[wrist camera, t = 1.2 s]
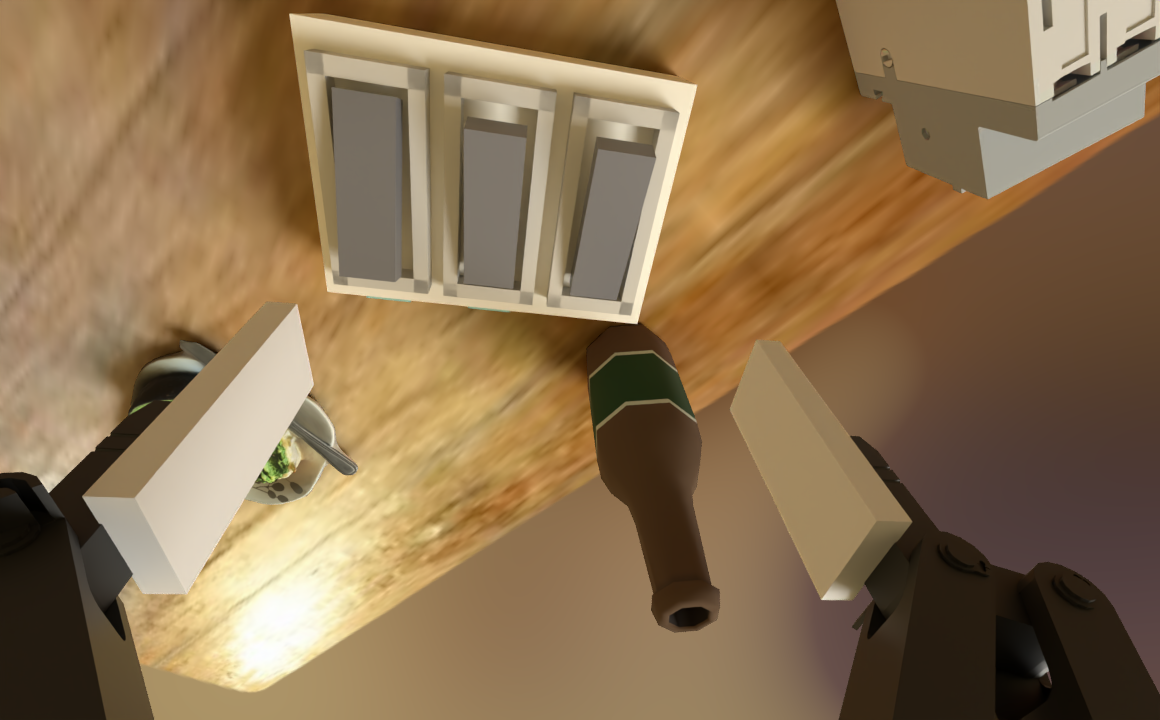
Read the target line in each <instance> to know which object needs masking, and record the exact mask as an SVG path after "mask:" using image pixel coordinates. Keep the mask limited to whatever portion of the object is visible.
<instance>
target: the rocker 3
mask: <svg viewBox="0 0 1160 720" xmlns="http://www.w3.org/2000/svg"><path fill="white" fill-rule="evenodd" d="M655 161H656V155H655V151H654V148H653V145H649V144H642V143H636V142H629V141H623V140H616V139H610V138H604V137H596V142H595V148H594V153H593V158H592V164H591V169H590V174H589V180H588V185H587V190H586V196H585V201H584V206H583V212H582V217H581V222H580V228H579V233H578V238H577V244H576V249H575V254H574V260H573V265H572V270H571V276H570V295H573V296H582V297H591V298H600V299H609V300H617V297H618V293H619V290H620V286H621V283H622V279H623V275H624V272H625V268H626V265H627V261H628V258H629V254H630V250H631V247H632V243H633V240H634V236H635V233H636V229H637V226H638V222H639V218H640V215H641V211H642V208H643V204H644V201H645V197H646V193H647V190H648V186H649V183H650V179H651V176H652V172H653V169H654V165H655Z"/></svg>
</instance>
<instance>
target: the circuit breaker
mask: <svg viewBox="0 0 1160 720" xmlns="http://www.w3.org/2000/svg"><path fill="white" fill-rule="evenodd" d="M836 4H837V7H838V11H839V15H840V19H841V22H842V26H843V30H844V34H845V38H846V41H847V45H848V49H849V53H850V56H851V60H852V64H853V68H854V72H855V75H856V79H857V83H858V87H859V90H860V94H861V95H862V96H865V97H868V98H872V99H878V98H880V97H881V96H882V101H884V102H887V103H891V104H892V106H893V110H894V114H895V119H896V123H897V127H898V131H899V136H900V140H901V144H902V148H903V152H904V157H905V161H906V165H907V166H909V167H911V168H914V169H916V170H918V171H921V172H923V173H925V174H928V175H930V176H933V177H935V178H937V179H940V180H942V181H944V182H947V183H949V184H951V185H952V186H953V190H955V191H958V192H960V193H963V192H965V191H968V192H970V193H973V194H975V195H978V196H980V197H983V198H986V199H989V198H991V197H993V196H995V195H997V194H999V193H1001V192H1003V191H1004V190H1006V189H1008V188H1010V187H1012V186H1014V185H1016V184H1018V183H1020V182H1022V181H1023V180H1025V179H1027V178H1029V177H1031V176H1033V175H1035V174H1037V173H1039V172H1041V171H1042V170H1044V169H1046V168H1048V167H1050V166H1052V165H1054V164H1056V163H1058V162H1059V161H1061V160H1063V159H1065V158H1067V157H1069V156H1071V155H1073V154H1075V153H1077V152H1078V151H1080V150H1082V149H1084V148H1086V147H1088V146H1090V145H1092V144H1094V143H1096V142H1097V141H1099V140H1101V139H1103V138H1105V137H1107V136H1109V135H1111V134H1113V133H1115V132H1116V131H1118V130H1120V129H1122V128H1124V127H1126V126H1128V125H1130V124H1132V123H1134V122H1135V121H1137V120H1139V119H1141V118H1143V117H1144V109H1145V87H1146V82H1147V81H1149V80H1151V79H1153V78H1155V77H1157V76H1159V75H1160V0H836Z"/></svg>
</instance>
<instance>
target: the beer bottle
mask: <svg viewBox="0 0 1160 720" xmlns="http://www.w3.org/2000/svg"><path fill="white" fill-rule="evenodd" d="M587 375H588V392H589V400H590V408H591V415H592V423H593V431H594V439H595V447H596V455H597V462H598V466H599V470H600V475H601V479H602V480H603V482H604V483H605V485H606V486H607V488H608V489H609V491H610V492H611V493H612V494H613V495H614V496H615V497H617V498H618V499H619V500H620V501H622V502H623V503H624V504H626V505H627V506H628V508H629V510H630V512H631V515H632V517H633V520H634V522H635V525H636V528H637V532H638V536H639V539H640V543H641V547H642V551H643V555H644V559H645V563H646V566H647V571H648V574H649V578H650V582H651V586H652V590H653V595H652V607H651V611H652V613H653V615H654V617H655V619H656V621H657V623H658V625H659V626H662V627H664V628H666V629H668V630H670V631H672V632H686V631H697V630H700V629H702V628H703V627H705V626H707V625H709V624H711V623H712V622H714V621H716V620H717V617H718V613H719V608H720V592H719V589H717V588H715V587H714V586H712V585H711V581H710V577H709V572H708V568H707V564H706V559H705V555H704V550H703V546H702V542H701V537H700V533H699V529H698V525H697V520H696V516H695V511H694V507H693V499H692V495H693V493H694V491H695V489H696V487H697V480H698V473H699V466H700V457H701V446H702V445H701V444H702V440H701V437H700V433H699V429H698V425H697V422H696V419H695V416H694V414H693V411H692V409H691V406H690V403H689V401H688V398H687V395H686V393H685V390H684V388H683V385H682V382H681V380H680V377H679V374H678V372H677V369H676V367H675V364H674V361H673V359H672V356H671V354H670V352H669V350H668V348H667V346H666V344H665V343H664V342H663V341H662V340H661V339H660V338H658V337H657V336H656V335H655V334H653V333H652V332H651V331H650V330H649V329H647V328H646V327H645V326H644V325H642V324H640V325H625V326H610V327H609V328H608V329H607V330H606V331H605V332H604V333H602V334H601V335H600V336H599V337H598V338H597V339H596V340H595V341H594V342H593V343H592V344H591V345H590V346H589V347H588V348H587Z"/></svg>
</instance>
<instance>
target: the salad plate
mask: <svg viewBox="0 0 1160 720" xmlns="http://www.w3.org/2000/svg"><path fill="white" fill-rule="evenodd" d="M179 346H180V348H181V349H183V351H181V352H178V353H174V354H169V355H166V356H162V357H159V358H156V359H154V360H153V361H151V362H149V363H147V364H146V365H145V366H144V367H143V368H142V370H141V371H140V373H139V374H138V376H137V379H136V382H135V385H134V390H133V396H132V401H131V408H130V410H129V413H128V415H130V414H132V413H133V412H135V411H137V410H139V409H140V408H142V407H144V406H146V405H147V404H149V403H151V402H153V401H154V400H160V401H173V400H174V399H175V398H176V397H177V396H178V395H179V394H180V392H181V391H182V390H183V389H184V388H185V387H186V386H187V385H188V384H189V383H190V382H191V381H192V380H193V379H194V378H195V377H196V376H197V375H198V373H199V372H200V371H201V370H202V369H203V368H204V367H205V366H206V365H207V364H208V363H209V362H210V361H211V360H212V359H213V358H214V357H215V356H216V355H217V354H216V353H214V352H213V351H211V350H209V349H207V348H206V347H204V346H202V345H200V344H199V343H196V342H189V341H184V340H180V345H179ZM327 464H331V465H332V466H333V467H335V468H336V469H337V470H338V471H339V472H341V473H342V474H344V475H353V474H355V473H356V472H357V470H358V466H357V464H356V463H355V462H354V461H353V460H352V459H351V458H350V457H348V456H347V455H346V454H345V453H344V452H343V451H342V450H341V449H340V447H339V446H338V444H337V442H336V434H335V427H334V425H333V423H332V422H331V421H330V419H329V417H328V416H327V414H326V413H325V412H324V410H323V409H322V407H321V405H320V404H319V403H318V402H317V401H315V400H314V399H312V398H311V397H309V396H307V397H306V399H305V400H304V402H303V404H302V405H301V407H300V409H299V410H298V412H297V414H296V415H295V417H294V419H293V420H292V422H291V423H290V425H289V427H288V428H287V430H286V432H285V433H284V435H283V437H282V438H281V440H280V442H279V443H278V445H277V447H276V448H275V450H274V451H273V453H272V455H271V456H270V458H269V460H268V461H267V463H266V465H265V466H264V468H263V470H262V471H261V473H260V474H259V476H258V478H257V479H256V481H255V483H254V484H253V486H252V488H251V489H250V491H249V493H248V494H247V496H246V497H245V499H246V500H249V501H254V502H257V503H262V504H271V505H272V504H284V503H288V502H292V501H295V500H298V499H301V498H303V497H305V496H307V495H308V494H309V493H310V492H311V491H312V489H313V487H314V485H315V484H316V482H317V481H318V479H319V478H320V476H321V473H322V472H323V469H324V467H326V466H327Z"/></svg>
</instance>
